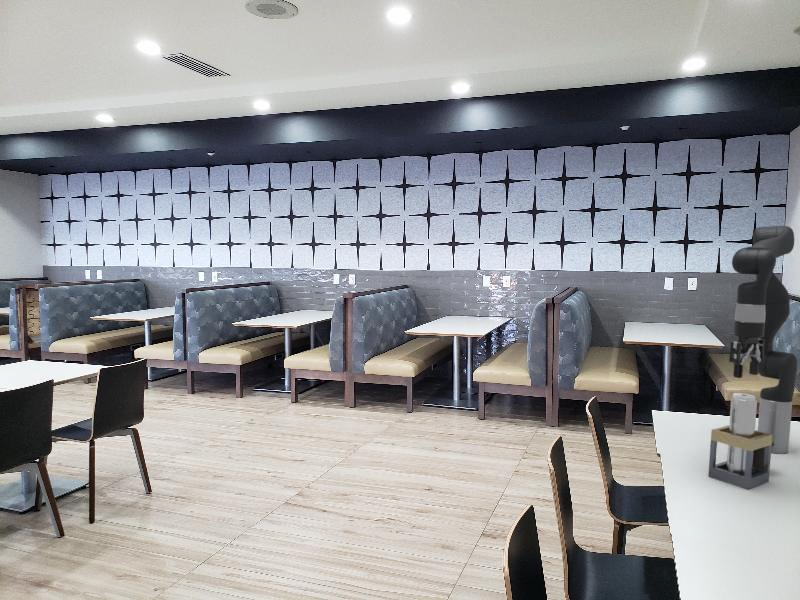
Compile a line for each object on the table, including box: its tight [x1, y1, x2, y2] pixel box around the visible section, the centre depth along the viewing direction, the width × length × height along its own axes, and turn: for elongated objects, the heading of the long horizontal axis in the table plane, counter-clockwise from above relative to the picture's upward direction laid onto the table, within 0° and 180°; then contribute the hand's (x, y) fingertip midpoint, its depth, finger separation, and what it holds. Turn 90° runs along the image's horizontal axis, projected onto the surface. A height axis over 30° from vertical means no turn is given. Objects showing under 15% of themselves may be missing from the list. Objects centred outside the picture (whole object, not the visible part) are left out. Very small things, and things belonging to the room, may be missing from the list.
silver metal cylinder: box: [726, 392, 758, 476], centre depth 177 cm, size 6×6×25 cm
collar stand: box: [708, 425, 772, 490], centre depth 178 cm, size 11×11×14 cm
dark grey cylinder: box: [752, 442, 774, 470], centre depth 186 cm, size 8×8×10 cm
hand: (745, 376), depth 176 cm, fingers open, 8 cm apart
